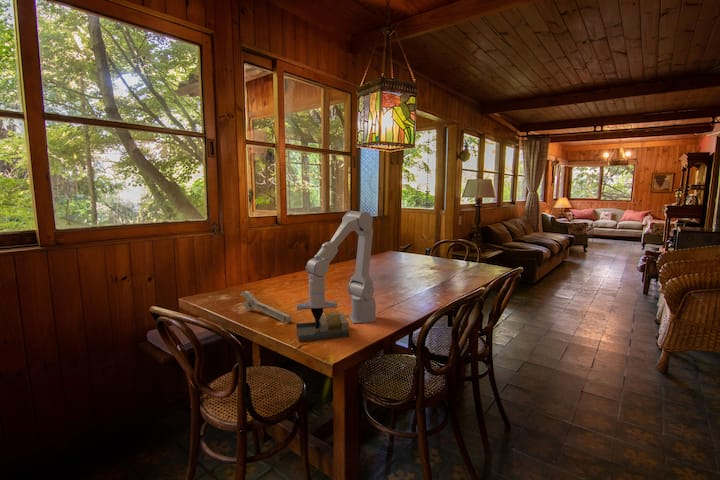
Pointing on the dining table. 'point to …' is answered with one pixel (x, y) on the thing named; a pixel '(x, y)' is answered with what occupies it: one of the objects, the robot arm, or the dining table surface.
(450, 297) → the dining table surface
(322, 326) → the bar
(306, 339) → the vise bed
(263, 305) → the wrench
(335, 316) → the brass block
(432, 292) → the dining table surface
